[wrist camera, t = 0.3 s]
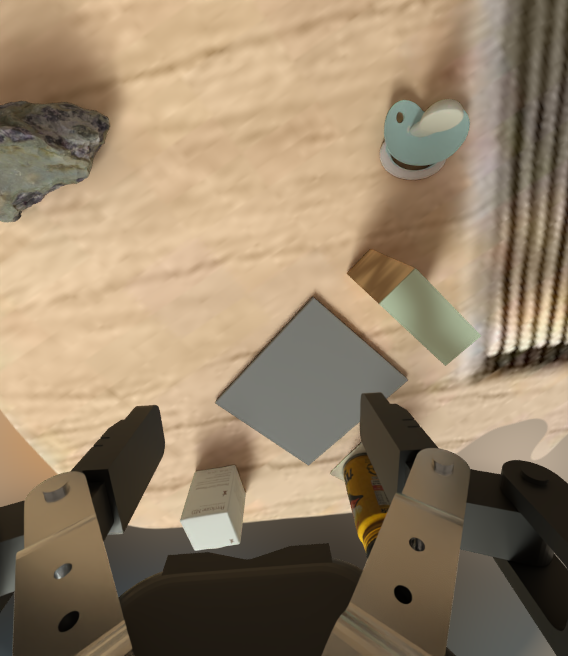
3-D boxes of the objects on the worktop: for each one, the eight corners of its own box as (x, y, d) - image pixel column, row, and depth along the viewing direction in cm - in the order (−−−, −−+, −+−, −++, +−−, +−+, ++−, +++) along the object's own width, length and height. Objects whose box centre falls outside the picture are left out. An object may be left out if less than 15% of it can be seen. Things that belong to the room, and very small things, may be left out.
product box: (236, 463, 42) (228, 512, 36) (246, 494, 45) (241, 545, 38) (194, 470, 43) (178, 520, 36) (206, 500, 45) (194, 553, 38)
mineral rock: (124, 118, 27) (44, 72, 18) (125, 240, 31) (60, 255, 22) (-31, 85, 26) (-203, 17, 17) (-10, 216, 30) (-139, 220, 21)
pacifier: (441, 183, 30) (460, 110, 28) (480, 180, 24) (508, 88, 22) (369, 177, 30) (381, 102, 27) (391, 172, 24) (409, 77, 21)
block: (370, 248, 32) (415, 268, 22) (418, 296, 34) (481, 335, 24) (346, 273, 33) (379, 304, 22) (395, 318, 35) (445, 365, 25)
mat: (313, 296, 34) (313, 298, 33) (406, 377, 38) (408, 380, 37) (216, 400, 38) (215, 403, 38) (308, 462, 43) (308, 465, 42)
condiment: (329, 472, 44) (347, 564, 32) (368, 434, 41) (402, 518, 30) (367, 493, 45) (396, 586, 34) (407, 457, 43) (453, 545, 32)
